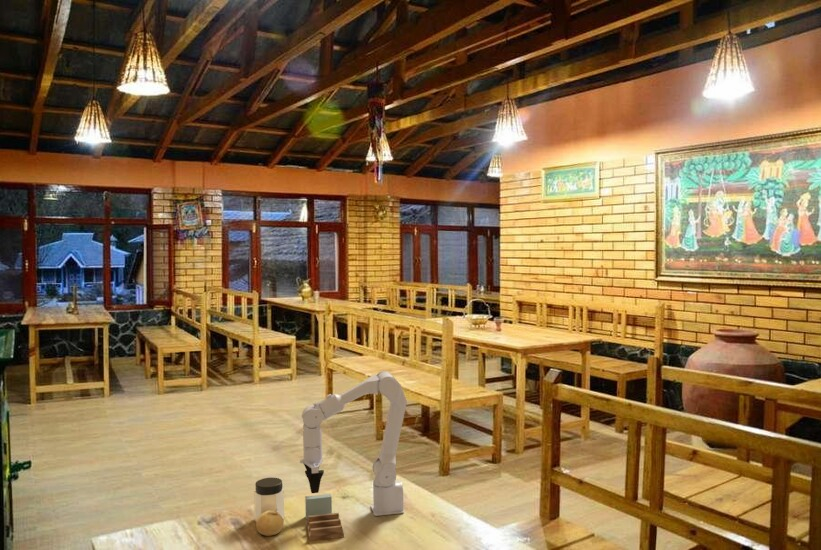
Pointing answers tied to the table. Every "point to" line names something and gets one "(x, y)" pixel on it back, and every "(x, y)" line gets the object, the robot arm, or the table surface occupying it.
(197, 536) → the table surface
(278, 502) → the jar
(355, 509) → the table surface
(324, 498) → the pale green prism
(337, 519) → the rack
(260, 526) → the onion
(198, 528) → the table surface
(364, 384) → the robot arm
